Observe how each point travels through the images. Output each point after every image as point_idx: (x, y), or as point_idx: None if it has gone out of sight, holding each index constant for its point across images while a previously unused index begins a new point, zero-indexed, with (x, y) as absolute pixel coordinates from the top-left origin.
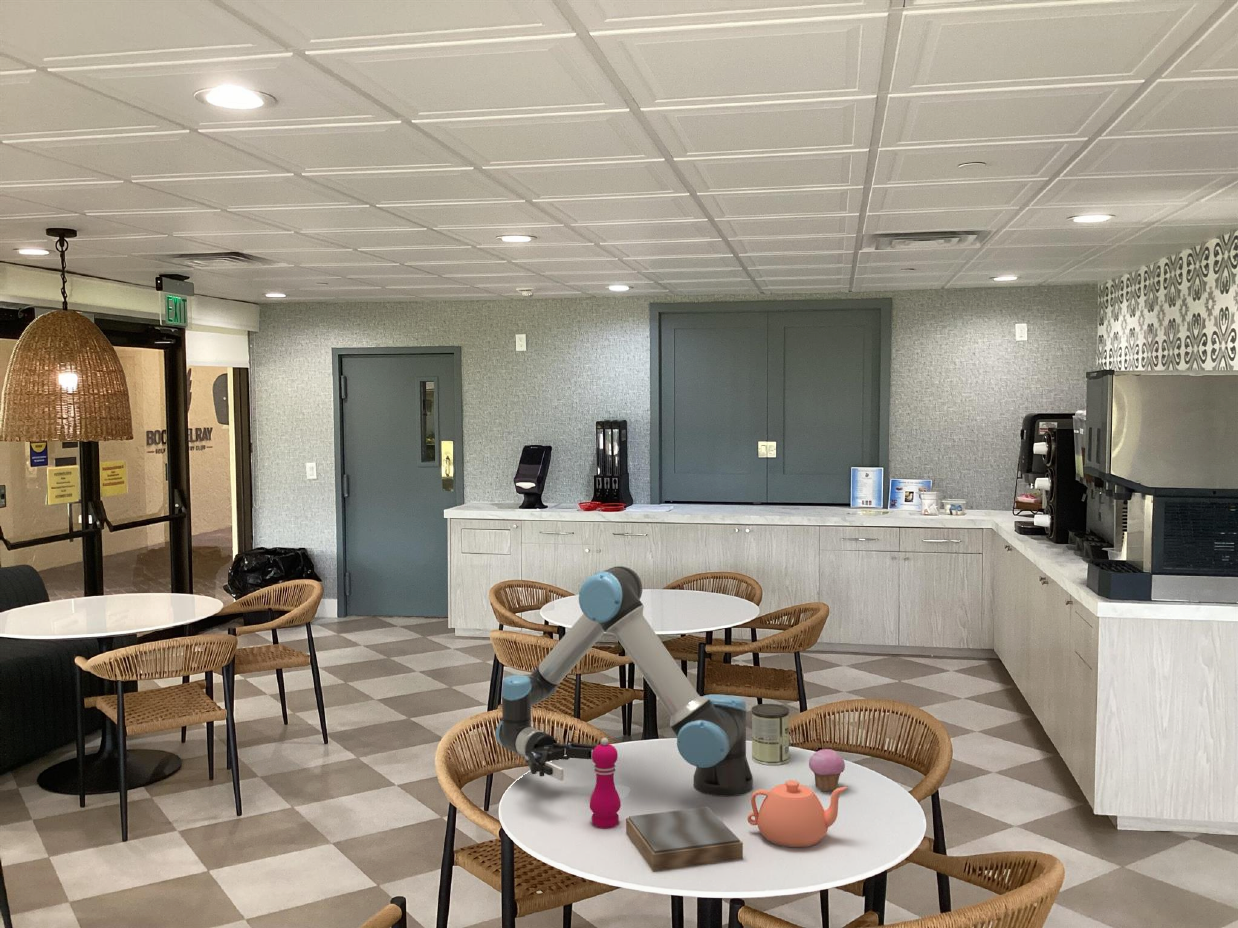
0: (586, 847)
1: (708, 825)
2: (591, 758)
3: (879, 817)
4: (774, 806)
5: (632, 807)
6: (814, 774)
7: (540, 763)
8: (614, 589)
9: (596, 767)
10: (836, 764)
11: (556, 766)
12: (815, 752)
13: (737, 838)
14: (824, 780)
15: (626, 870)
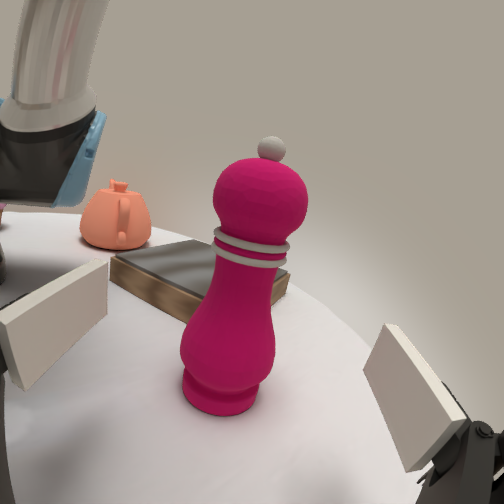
0: (327, 359)
1: (178, 251)
2: (3, 388)
3: (53, 218)
4: (143, 206)
5: (89, 375)
6: None
7: (486, 427)
8: None
9: (287, 243)
10: None
11: (409, 352)
12: None
13: (192, 240)
14: (1, 215)
15: (311, 307)
